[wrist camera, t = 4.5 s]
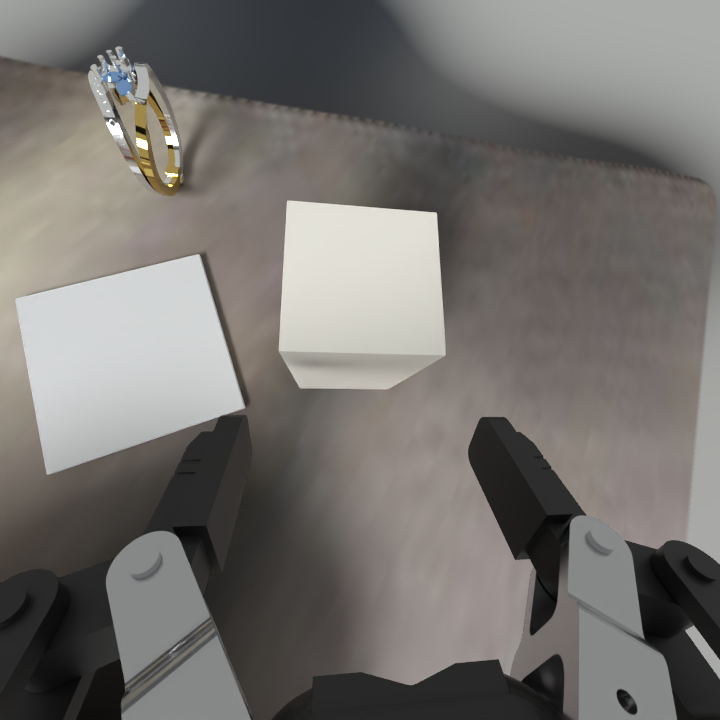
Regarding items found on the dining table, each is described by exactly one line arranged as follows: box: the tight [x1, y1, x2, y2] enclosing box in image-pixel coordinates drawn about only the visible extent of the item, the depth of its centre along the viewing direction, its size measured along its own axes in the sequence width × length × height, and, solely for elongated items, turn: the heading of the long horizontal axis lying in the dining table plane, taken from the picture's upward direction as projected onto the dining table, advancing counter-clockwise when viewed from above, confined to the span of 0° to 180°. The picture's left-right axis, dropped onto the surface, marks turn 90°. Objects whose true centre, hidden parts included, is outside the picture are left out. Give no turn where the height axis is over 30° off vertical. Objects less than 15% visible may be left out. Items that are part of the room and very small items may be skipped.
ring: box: [88, 47, 184, 196], centre depth 20 cm, size 7×3×8 cm, turn 178°
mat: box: [15, 254, 246, 475], centre depth 21 cm, size 12×12×1 cm
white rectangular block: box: [279, 201, 446, 389], centre depth 18 cm, size 6×6×11 cm
